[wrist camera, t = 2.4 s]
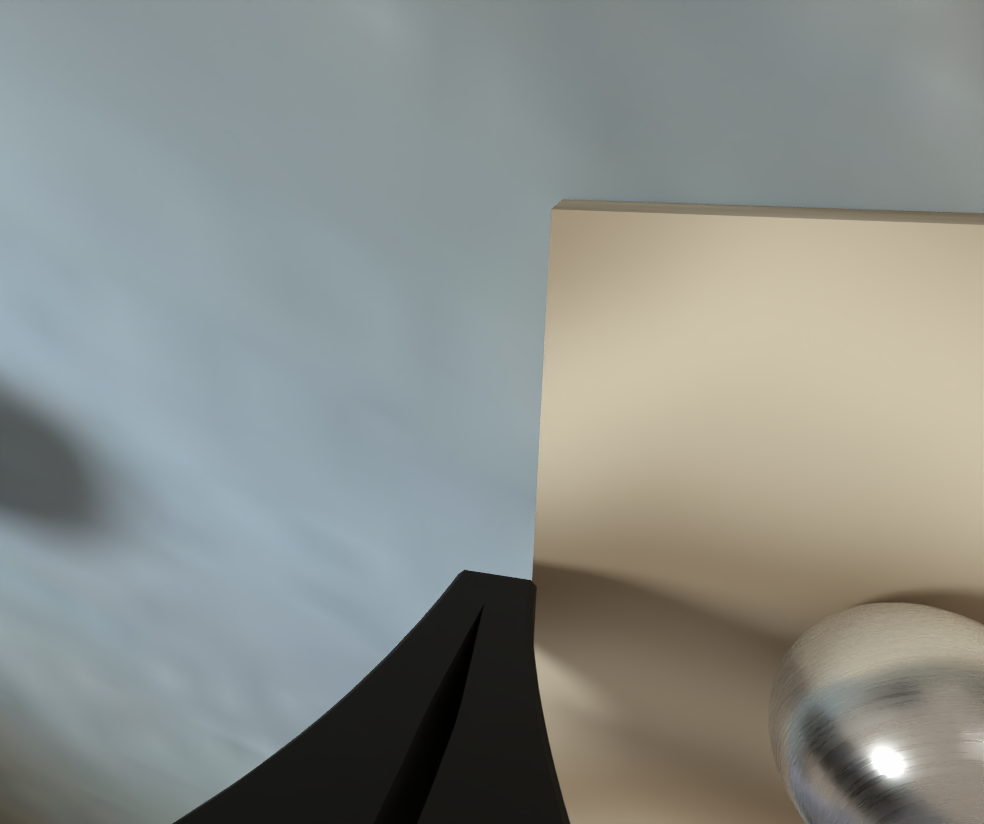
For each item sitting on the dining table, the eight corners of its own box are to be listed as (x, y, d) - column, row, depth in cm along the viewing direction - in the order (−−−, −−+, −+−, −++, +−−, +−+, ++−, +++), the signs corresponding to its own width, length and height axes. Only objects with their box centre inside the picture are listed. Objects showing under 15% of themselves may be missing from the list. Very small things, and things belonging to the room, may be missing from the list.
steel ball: (960, 743, 11) (1120, 1038, 7) (729, 700, 12) (773, 949, 8) (1050, 569, 9) (1315, 844, 6) (774, 533, 10) (851, 753, 6)
